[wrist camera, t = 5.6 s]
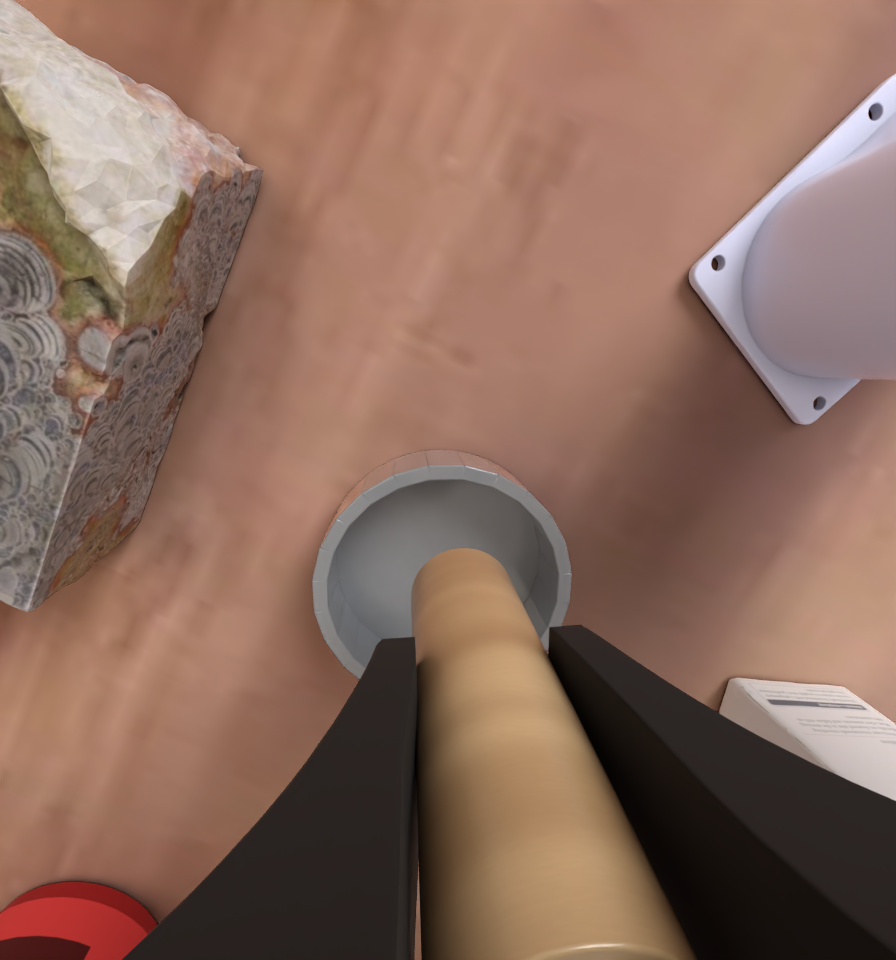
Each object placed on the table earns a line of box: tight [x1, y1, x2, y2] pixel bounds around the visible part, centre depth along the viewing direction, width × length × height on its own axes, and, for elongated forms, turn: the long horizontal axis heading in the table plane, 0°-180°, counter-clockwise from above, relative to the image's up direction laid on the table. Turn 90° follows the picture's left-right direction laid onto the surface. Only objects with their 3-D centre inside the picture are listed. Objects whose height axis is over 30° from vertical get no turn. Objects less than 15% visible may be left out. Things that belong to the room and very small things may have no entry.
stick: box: [411, 548, 698, 960], centre depth 8 cm, size 3×3×8 cm
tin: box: [312, 450, 572, 679], centre depth 18 cm, size 9×9×3 cm
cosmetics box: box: [719, 678, 896, 801], centre depth 19 cm, size 10×6×10 cm, turn 171°
